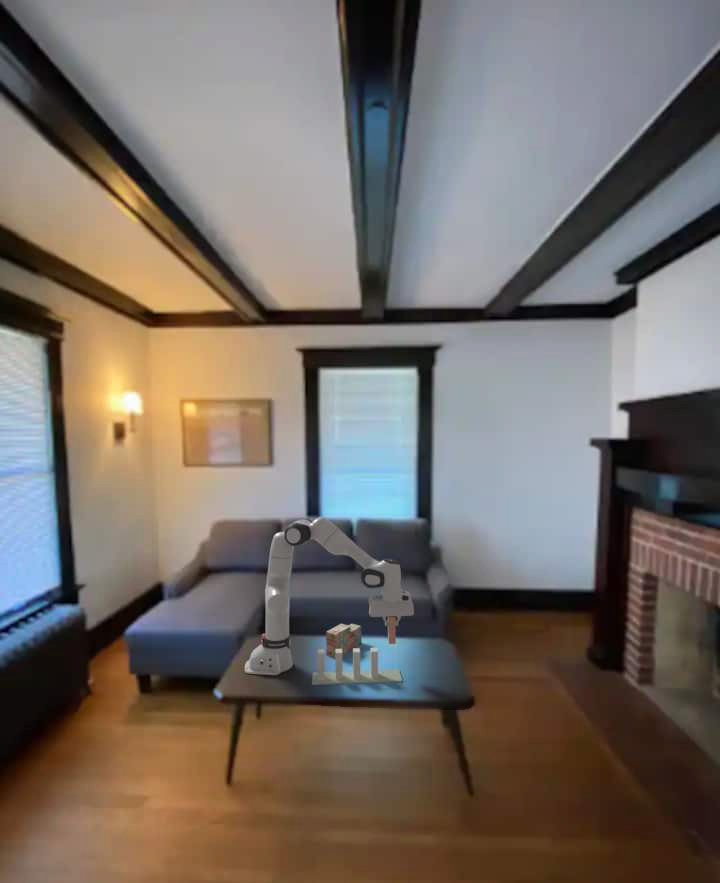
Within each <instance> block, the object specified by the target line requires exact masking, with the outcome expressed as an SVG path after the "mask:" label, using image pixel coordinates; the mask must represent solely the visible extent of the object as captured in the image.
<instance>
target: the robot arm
mask: <svg viewBox="0 0 720 883" xmlns="http://www.w3.org/2000/svg"><path fill="white" fill-rule="evenodd" d="M310 540H314V541H316V542H317V543H319V544H320V546H322V547H323V548H324V549H325V550H327V552H329V553H330V554H332V555H333V556H334V555H336V556H348V557H350V558H351V559H353V560H354V561H355V562H356V563H357V564H359V565H360V566H361V567H362V568H363V570H362V572H361V574H360V582H361V583H362V585H363V586H364V587H366V588H368V589H378V588H381V595H371V596H370V597H369V598H368V605H369V609H368V610H369V611H368V613H369V616H370V617H371V618H379V617H381V618H382V619H383V621H384V626H385V627H388V626H389V622H388V620H387V619H386V618H388V616H395V617H397V619H395V624H396V627H397V626H399V621H400V620H401V619H402V617H407V616H408V617H409V616H410V617H411V616H413V615H414V614H415V609H414V608H415V607H414V603H413V600H412V594H411V593H410V592H409V591H407V590H403V589H402V588H401V587H402V586H401V581H402V575H401V574H402V572H401V566H400V563H399V562H398V561H397V560H396V559H394V558H390V557H388V558H383V559H382V560H381V559H379V558H378V559H377V558H376V557H373V556H372V555H371V554H369V553H368V552H367V551H366V550H364V549H363V548H362V547H361V546H359V545H358V544H357V543H356V542H354V541H353V540H352V539H351V538H349V537H348V536H347V534H345V533H344V532H343V531H342V530H341V529H340V528H339V527H337V525H336V524H334V523H333V522H331V521H330V520H329V519H327V518H325V517H324V516H319V517H317V518H315V519H314V520H311V519H310V518H309V519H308V518H300V519H298V520H295V521H293V523H290V524H289V525H288V526H287V527H286V528H285V531H279V532H277V533H275V534H274V535H273V538H272V541H271V544H270V549H269V557H268V568H267V574H266V583H265V589H264V596H265V597H264V598H265V633H262V634H261V642H260V644H259V645H258V646H257V647H256V648H254V649H253V650H252V652H251V653H250V656H249V659H248V660H247V661H246V662H245V665H244V672H245V673H246V674H249V675H250V674H251V675H263V676H264V675H266V676H278V675H280V674H281V673H283V672H286V671H289V670H290V669H291V668H292V667H293V664H294V662H293V660H292V654H291V634H290V604H291V602H290V601H291V599H290V593H289V586H290V580H291V575H292V570H293V569H292V567H293V559H294V549H295V547H299V546H302V545H305V543H308V542H309V541H310Z"/></svg>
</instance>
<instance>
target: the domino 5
mask: <svg viewBox="0 0 720 883" xmlns="http://www.w3.org/2000/svg"><path fill="white" fill-rule="evenodd" d="M387 621H388V622H389V626H387V641H388V645H396V643H397V640H396V639H397V638H396V634H397V633H396V627H397V626H396V624H395V621H396V616H387Z"/></svg>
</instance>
